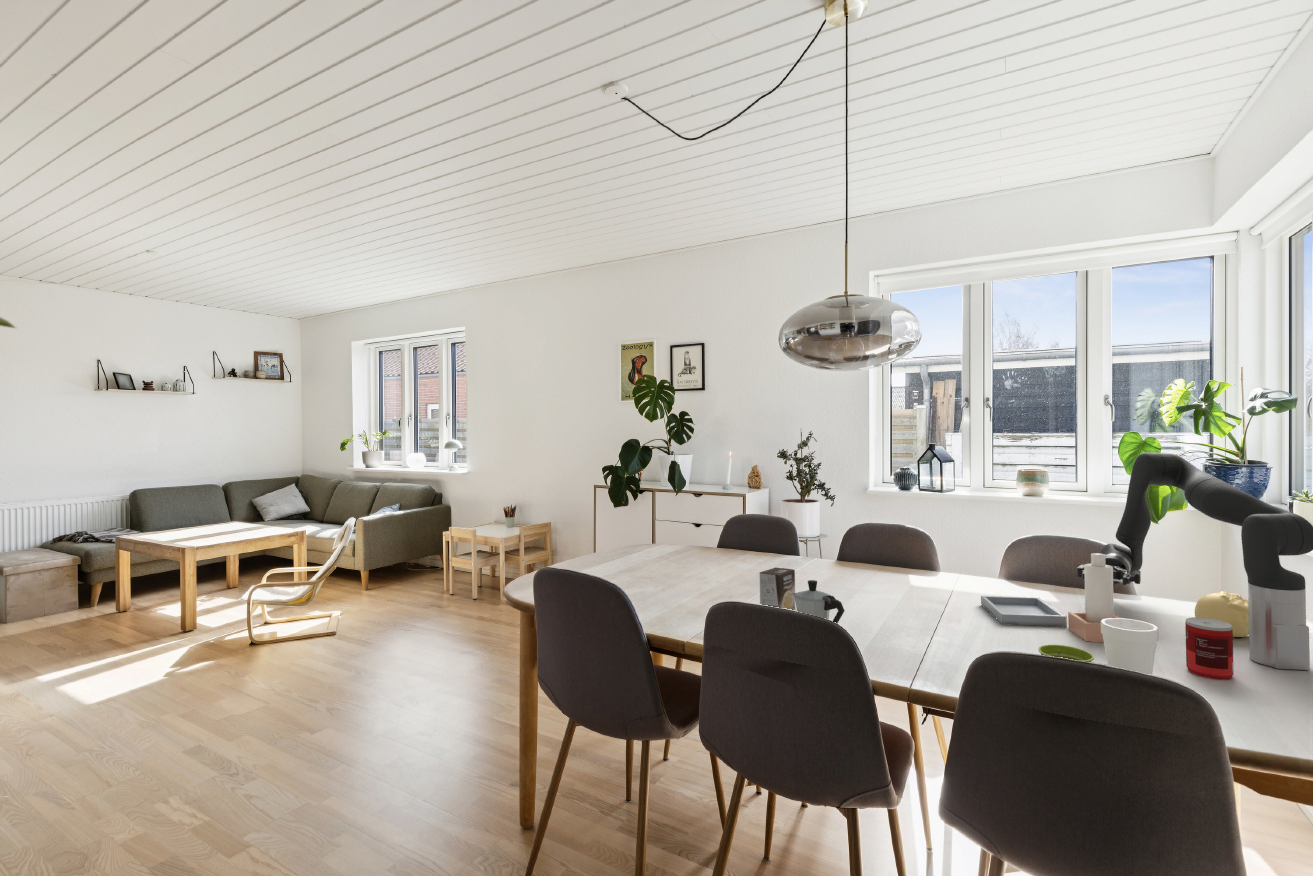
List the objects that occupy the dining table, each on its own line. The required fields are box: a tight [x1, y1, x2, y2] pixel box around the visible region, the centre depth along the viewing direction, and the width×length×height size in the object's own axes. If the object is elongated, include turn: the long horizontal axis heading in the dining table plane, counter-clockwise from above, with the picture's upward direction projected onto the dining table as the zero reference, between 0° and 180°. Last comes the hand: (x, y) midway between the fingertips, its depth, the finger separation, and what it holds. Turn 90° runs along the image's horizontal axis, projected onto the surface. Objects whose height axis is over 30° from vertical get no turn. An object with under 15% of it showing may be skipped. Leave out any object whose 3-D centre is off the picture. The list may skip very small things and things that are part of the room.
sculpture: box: [1194, 590, 1249, 638], centre depth 161 cm, size 12×12×11 cm
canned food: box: [1184, 616, 1234, 681], centre depth 136 cm, size 8×8×11 cm
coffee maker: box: [792, 579, 845, 624], centre depth 153 cm, size 15×9×18 cm, turn 40°
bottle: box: [1084, 552, 1115, 623], centre depth 162 cm, size 6×6×21 cm
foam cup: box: [1101, 617, 1159, 676], centre depth 130 cm, size 10×9×13 cm
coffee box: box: [759, 567, 796, 611], centre depth 175 cm, size 9×6×16 cm
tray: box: [980, 595, 1068, 628], centre depth 182 cm, size 20×16×3 cm
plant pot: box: [1037, 644, 1095, 663], centre depth 127 cm, size 9×9×9 cm
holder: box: [1067, 611, 1121, 643], centre depth 162 cm, size 10×10×4 cm
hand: (1104, 579), depth 171 cm, fingers open, 8 cm apart
